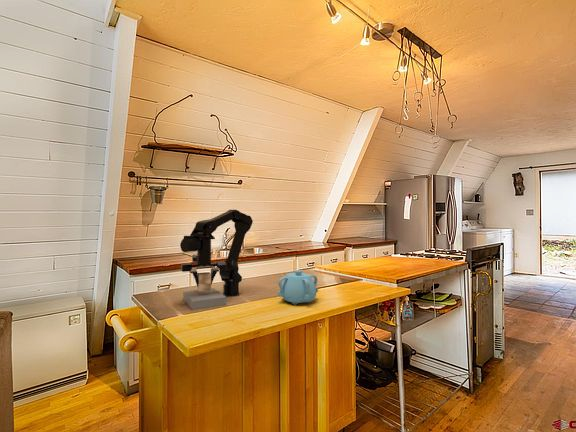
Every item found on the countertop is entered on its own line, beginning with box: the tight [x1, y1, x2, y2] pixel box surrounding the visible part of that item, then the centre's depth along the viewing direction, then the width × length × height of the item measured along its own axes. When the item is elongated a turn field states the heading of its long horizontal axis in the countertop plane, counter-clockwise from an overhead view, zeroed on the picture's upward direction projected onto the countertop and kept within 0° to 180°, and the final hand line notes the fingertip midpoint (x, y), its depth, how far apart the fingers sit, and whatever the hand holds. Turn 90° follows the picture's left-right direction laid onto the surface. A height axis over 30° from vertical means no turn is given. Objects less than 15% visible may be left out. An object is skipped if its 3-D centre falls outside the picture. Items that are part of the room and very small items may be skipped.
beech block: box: [197, 271, 212, 291], centre depth 137 cm, size 5×5×7 cm
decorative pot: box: [277, 269, 319, 305], centre depth 140 cm, size 16×16×14 cm
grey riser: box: [182, 287, 227, 311], centre depth 137 cm, size 14×18×4 cm
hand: (204, 286), depth 137 cm, fingers closed on beech block, 5 cm apart
